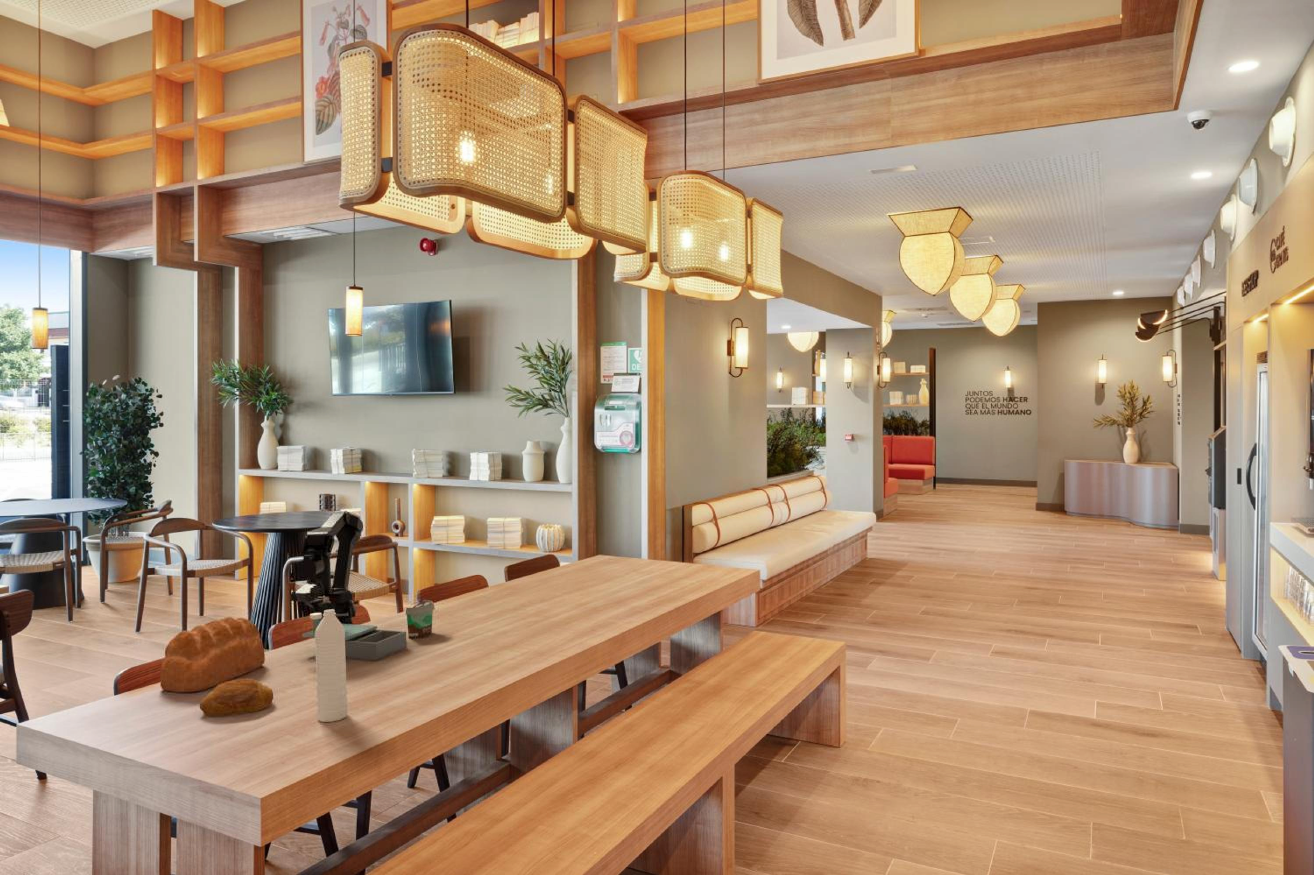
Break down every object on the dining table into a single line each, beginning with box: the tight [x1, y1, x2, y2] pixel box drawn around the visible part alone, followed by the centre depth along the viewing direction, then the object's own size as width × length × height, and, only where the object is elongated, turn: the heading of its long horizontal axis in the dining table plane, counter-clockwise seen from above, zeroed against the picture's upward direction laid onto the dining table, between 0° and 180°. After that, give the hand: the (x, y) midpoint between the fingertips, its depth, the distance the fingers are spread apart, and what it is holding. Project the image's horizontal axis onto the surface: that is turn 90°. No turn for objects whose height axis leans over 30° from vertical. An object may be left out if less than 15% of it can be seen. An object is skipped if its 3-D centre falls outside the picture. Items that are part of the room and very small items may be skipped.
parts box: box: [345, 629, 408, 662], centre depth 249 cm, size 16×14×5 cm
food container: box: [405, 599, 436, 640], centre depth 269 cm, size 12×6×10 cm, turn 168°
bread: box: [160, 616, 266, 693], centre depth 228 cm, size 14×26×16 cm, turn 165°
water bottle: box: [309, 609, 348, 723], centre depth 193 cm, size 9×6×25 cm
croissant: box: [199, 678, 274, 717], centre depth 203 cm, size 14×16×8 cm
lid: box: [301, 617, 378, 640], centre depth 253 cm, size 16×14×5 cm
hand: (322, 624), depth 255 cm, fingers closed on lid, 2 cm apart
